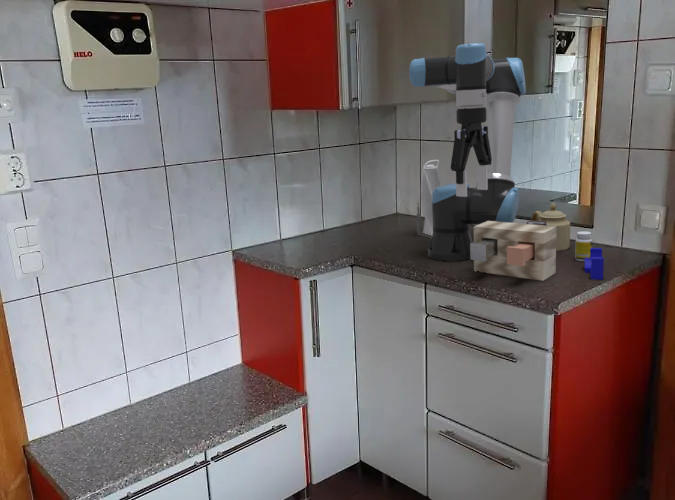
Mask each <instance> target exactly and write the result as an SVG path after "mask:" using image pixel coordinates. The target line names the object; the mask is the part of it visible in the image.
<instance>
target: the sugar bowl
mask: <svg viewBox="0 0 675 500" xmlns="http://www.w3.org/2000/svg"><path fill="white" fill-rule="evenodd" d="M549 208H550V210H546V211H543V212H542V211H540V210H536V211H533V213H532V215H531V221H535V220H538V221H545V222H546V224H547V226H556V227H557V229H556V252H560V251H561V252H562V251H566V250H568V249H569V248H570V241H571V221H569V220H567V219H566V217H567V214H565V213H564V212H562V211H560V210H556V209H557V205H556V203H555V202H551V203H550V205H549Z"/></svg>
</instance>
